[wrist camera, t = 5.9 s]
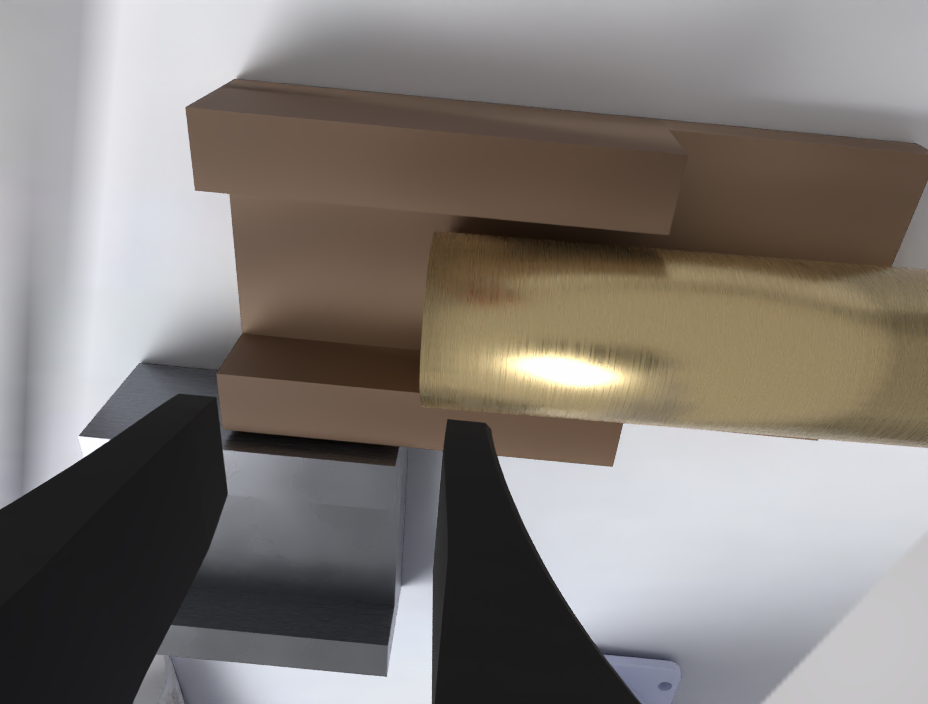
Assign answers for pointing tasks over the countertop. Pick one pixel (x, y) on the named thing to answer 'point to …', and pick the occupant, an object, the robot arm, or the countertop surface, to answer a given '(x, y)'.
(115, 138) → the countertop surface
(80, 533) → the robot arm
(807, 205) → the brown wooden cradle
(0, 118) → the countertop surface
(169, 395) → the v block
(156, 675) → the wrench
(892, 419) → the brass axle
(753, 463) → the countertop surface
